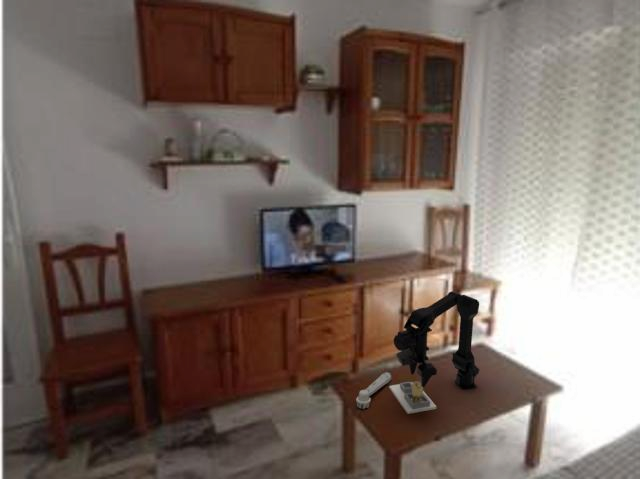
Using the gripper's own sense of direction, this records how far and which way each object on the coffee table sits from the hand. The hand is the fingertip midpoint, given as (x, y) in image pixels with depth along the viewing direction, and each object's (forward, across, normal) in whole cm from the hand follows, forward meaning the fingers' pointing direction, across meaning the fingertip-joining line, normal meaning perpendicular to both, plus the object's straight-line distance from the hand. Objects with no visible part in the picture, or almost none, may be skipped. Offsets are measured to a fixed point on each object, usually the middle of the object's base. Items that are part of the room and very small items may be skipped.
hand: (417, 380), depth 171 cm
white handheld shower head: (+11, -12, -13) cm, 21 cm away
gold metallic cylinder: (+10, 0, 0) cm, 10 cm away
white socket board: (+11, -5, 0) cm, 12 cm away
